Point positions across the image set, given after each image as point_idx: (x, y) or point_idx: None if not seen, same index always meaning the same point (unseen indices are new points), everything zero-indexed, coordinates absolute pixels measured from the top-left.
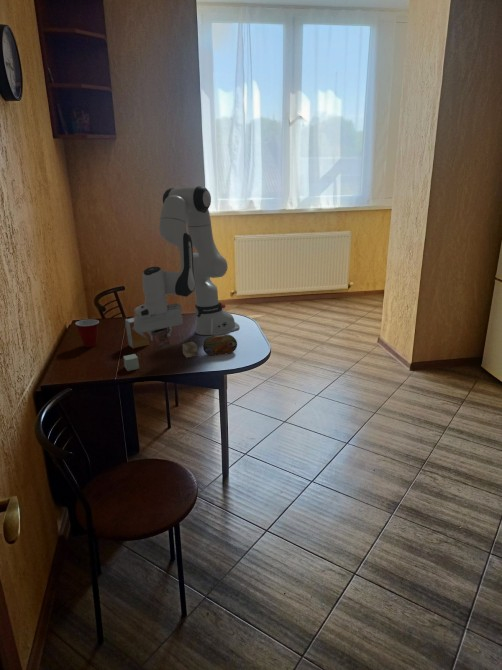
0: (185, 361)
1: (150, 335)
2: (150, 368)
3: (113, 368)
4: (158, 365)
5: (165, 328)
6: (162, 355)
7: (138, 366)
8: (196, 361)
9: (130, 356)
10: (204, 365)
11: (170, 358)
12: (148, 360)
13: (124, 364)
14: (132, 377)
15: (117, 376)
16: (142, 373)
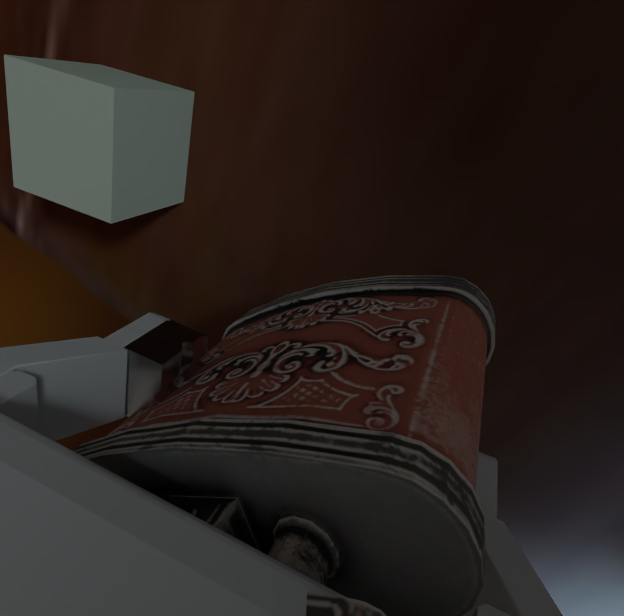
0: (552, 413)
1: (61, 419)
2: (248, 277)
3: (23, 18)
4: (324, 280)
5: (374, 605)
6: (515, 69)
7: (167, 203)
8: (619, 494)
9: (61, 128)
10: (587, 587)
11: (511, 233)
12: (317, 88)
13: (82, 63)
14: (104, 301)
15: (32, 203)
16: (172, 303)
